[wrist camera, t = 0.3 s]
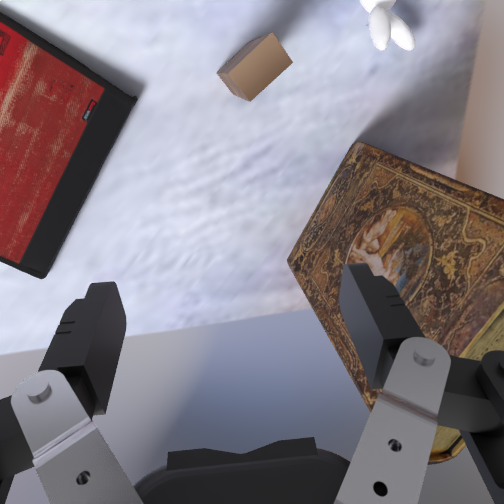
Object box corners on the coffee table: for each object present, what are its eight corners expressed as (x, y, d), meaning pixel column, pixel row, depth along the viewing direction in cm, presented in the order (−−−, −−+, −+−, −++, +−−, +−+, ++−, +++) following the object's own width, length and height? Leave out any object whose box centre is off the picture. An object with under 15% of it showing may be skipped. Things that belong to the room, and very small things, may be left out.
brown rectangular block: (216, 73, 36) (228, 73, 27) (249, 42, 35) (272, 32, 26) (233, 94, 37) (250, 101, 28) (265, 64, 36) (293, 62, 27)
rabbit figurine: (400, -42, 34) (431, 42, 34) (365, -9, 37) (394, 68, 37) (361, -55, 31) (396, 38, 31) (326, -17, 34) (358, 68, 34)
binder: (136, 98, 34) (42, 282, 40) (140, 97, 36) (50, 272, 42) (-62, -27, 29) (-137, 205, 35) (-45, -19, 31) (-117, 198, 37)
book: (320, 282, 47) (444, 470, 25) (282, 268, 46) (378, 456, 23) (394, 161, 42) (632, 260, 20) (354, 139, 41) (567, 222, 18)
